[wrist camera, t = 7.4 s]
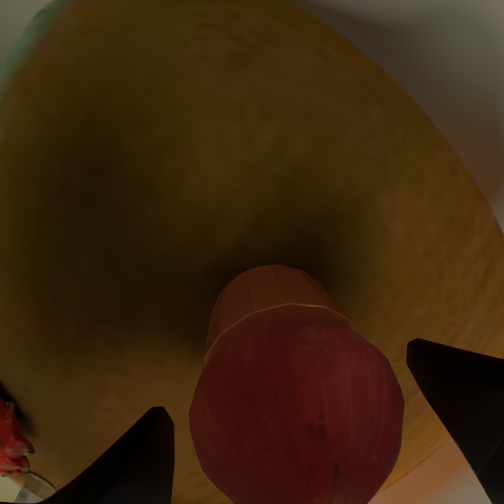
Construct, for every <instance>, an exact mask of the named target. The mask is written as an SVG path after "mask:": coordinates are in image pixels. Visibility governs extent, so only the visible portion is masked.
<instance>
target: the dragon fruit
mask: <svg viewBox="0 0 504 504" xmlns="http://www.w3.org/2000/svg"><path fill="white" fill-rule="evenodd" d="M14 406H15V407H16V405H15V404H14V403H12V402H6V404H5V402H4V401H3V399H2V398H1V396H0V475H1V476H2V477H6V476H8V475H11V476H17V477H18V476H20V475H21V474H22V472H23V471H24V472H28V471H29V467H30V464H29V461H28V459H27V458H26V457H25V456H24V455H31V454H33V453H35V450H34V447H33V445H32V443H31V442H30V441H29V440H28V439H27V437H25V436H23V435H21V434H20V430H19V425H20V419H19V418H18V417H16V416H15V408H14Z"/></svg>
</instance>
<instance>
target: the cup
mask: <svg viewBox="0 0 504 504" xmlns="http://www.w3.org/2000/svg"><path fill="white" fill-rule="evenodd" d="M300 316H305V317H309V318H314V319H318V320H322V321H326V322H331V323H335V324H338V325H342V326H345V327H348V328H350V329H352V330H353V331H355V332H356V333H357V334H359V335H360V336H361V334H360V333H359V331H358V329H357V328H356V326H355V325H354V323H353V322H352V320H351V319H350V318H349V317H348V316H347V314H346V313H345V312H344V311H343V310H342V309H341V307H340V306H339V305H338V304H337V303H336V301H335V300H334V299H333V298H332V297H331V296H330V294H329V293H328V292H327V291H326V290H325V289H324V287H323V286H322V285H321V284H320V283H319V282H318V281H316V280H315V279H314V278H313V277H312V276H310V275H309V274H307V273H306V272H304V271H302V270H300V269H297V268H294V267H291V266H285V265H264V266H259V267H256V268H253V269H250V270H247V271H245V272H243V273H241V274H240V275H238V276H237V277H235V278H234V279H233V280H231V281H230V282H229V283H228V284H227V285H226V286H225V287H224V288H223V290H222V291H221V292H220V294H219V295H218V297H217V299H216V301H215V304H214V307H213V309H212V312H211V317H210V323H209V329H208V334H207V340H206V346H205V352H204V358H203V369H204V367H205V366H206V365H207V364H208V363H209V361H210V360H211V359H212V358H213V357H214V356H215V355H216V353H217V352H218V351H219V350H220V349H221V348H222V347H223V345H224V344H225V343H226V342H227V341H228V340H229V339H231V338H233V337H235V336H237V335H239V334H241V333H243V332H245V331H247V330H249V329H251V328H253V327H255V326H257V325H259V324H261V323H263V322H266V321H274V320H281V319H287V318H294V317H300ZM361 337H362V336H361ZM203 369H202V372H203Z"/></svg>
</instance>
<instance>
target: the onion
mask: <svg viewBox="0 0 504 504" xmlns="http://www.w3.org/2000/svg"><path fill="white" fill-rule="evenodd" d="M403 413H404V399H403V395H402V392H401V388H400V386H399V384H398V381H397V379H396V377H395V374H394V372H393V370H392V368H391V366H390V363H389V361H388V359H387V358H386V357H385V356H384V355H383V354H382V353H381V352H380V351H379V350H378V349H377V348H376V347H375V346H373V345H372V344H371V343H369V342H368V341H367V340H365V339H364V338H363V337H361V336H360V335H359V334H357V333H356V332H355V331H353V330H352V329H350V328H348V327H345V326H342V325H338V324H335V323H331V322H326V321H322V320H318V319H314V318H309V317H305V316H300V317H294V318H287V319H281V320H274V321H266V322H263V323H261V324H259V325H257V326H255V327H253V328H251V329H249V330H247V331H245V332H243V333H241V334H239V335H237V336H235V337H233V338H231V339H229V340H228V341H227V342H226V343H225V344H224V345H223V347H222V348H221V349H220V350H219V351H218V352H217V353H216V355H215V356H214V357H213V358H212V359H211V360H210V361H209V363H208V364H207V365H206V366H205V367H204V369H203V372H202V374H201V376H200V378H199V381H198V383H197V387H196V390H195V394H194V397H193V401H192V404H191V408H190V411H189V419H190V432H191V436H192V439H193V443H194V446H195V450H196V453H197V456H198V459H199V462H200V464H201V467H202V469H203V471H204V473H205V474H206V475H207V476H208V478H209V479H210V480H211V481H212V483H213V484H214V485H215V486H216V487H217V488H219V489H220V490H221V491H222V492H223V493H224V494H225V495H226V496H227V497H229V498H230V499H231V500H232V501H233V502H234V503H235V504H367V503H368V502H369V501H370V500H371V499H372V498H373V496H374V495H375V494H376V492H377V491H378V490H379V489H380V487H381V486H382V484H383V483H384V482H385V480H386V479H387V478H388V476H389V475H390V473H391V472H392V470H393V468H394V466H395V463H396V461H397V459H398V456H399V452H400V448H401V439H402V422H403Z"/></svg>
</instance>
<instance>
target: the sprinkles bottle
mask: <svg viewBox="0 0 504 504" xmlns="http://www.w3.org/2000/svg"><path fill="white" fill-rule="evenodd" d="M55 492H56V490H55V489H54V487H53V486H52V485H51V484H49V483H48V482H47V481H45V480H44V479H43V478H41V477H39V476H38V475H36V474H34V473H29V474H28V478H27V480H26V481H25V484H24V485H23V487H22V488H21V490H20V492H19V494H18V496H17V498H16V500H15V502H14V503H37V502H40V501H43V500H45V499H46V498H48V497H49V496H51V495H52V494H54V493H55Z"/></svg>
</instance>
